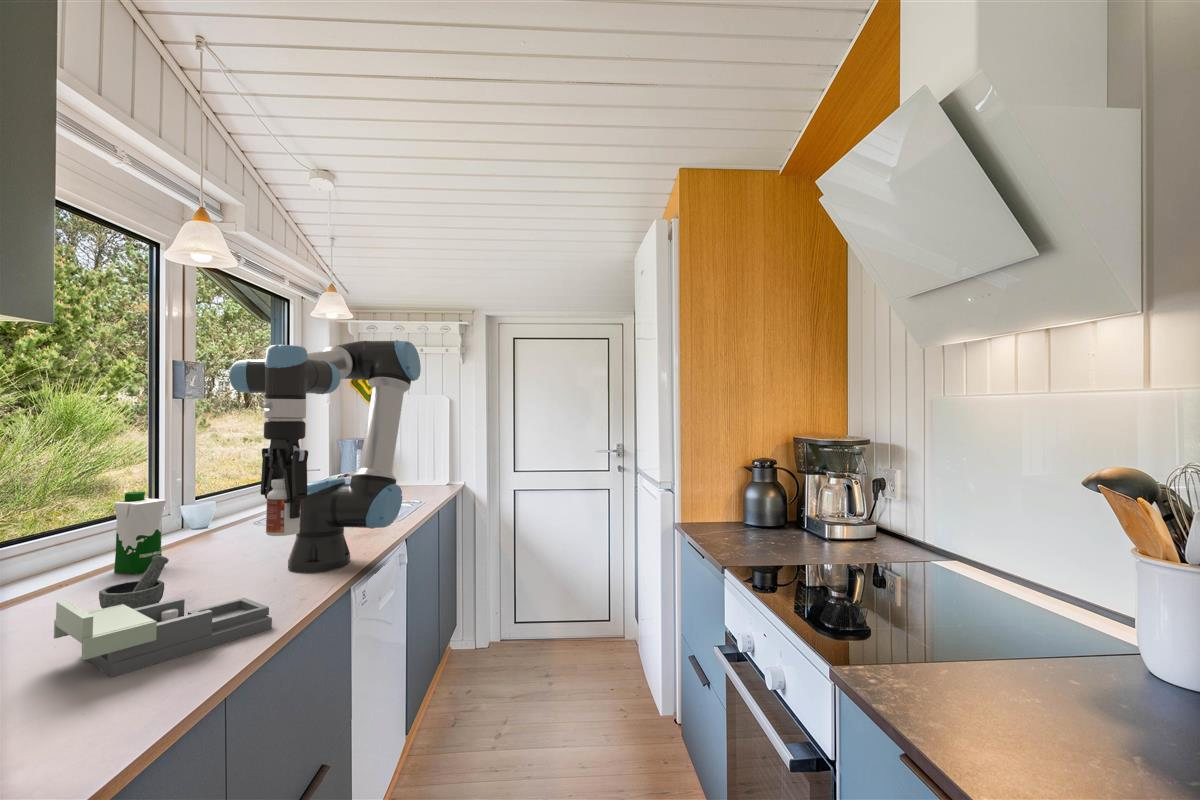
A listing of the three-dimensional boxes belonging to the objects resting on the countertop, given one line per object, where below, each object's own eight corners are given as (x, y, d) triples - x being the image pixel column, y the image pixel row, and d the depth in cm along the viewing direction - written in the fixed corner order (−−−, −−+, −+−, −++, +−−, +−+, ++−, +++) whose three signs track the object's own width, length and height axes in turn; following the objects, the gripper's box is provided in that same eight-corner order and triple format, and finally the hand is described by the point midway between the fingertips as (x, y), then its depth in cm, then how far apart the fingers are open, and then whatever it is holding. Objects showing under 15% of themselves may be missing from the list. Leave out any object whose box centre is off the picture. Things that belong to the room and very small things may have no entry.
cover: (122, 621, 99) (123, 587, 99) (156, 639, 91) (157, 603, 91) (53, 637, 91) (54, 601, 92) (83, 660, 83) (84, 619, 83)
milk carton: (142, 564, 150) (144, 490, 151) (169, 566, 148) (171, 491, 149) (107, 573, 142) (109, 494, 142) (134, 576, 139) (137, 496, 140)
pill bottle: (281, 537, 110) (282, 482, 111) (258, 535, 112) (259, 480, 113) (307, 531, 116) (308, 478, 117) (285, 529, 118) (286, 477, 119)
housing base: (238, 612, 114) (239, 583, 115) (274, 627, 107) (274, 596, 107) (81, 655, 94) (82, 619, 94) (111, 677, 86) (112, 638, 87)
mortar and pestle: (118, 634, 103) (121, 569, 103) (85, 627, 106) (88, 564, 106) (181, 614, 114) (183, 555, 114) (149, 608, 117) (151, 551, 117)
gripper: (242, 419, 117) (239, 529, 116) (292, 420, 106) (289, 541, 106) (279, 419, 123) (276, 523, 123) (329, 420, 113) (326, 534, 112)
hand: (282, 532), depth 114 cm, fingers closed on pill bottle, 6 cm apart
